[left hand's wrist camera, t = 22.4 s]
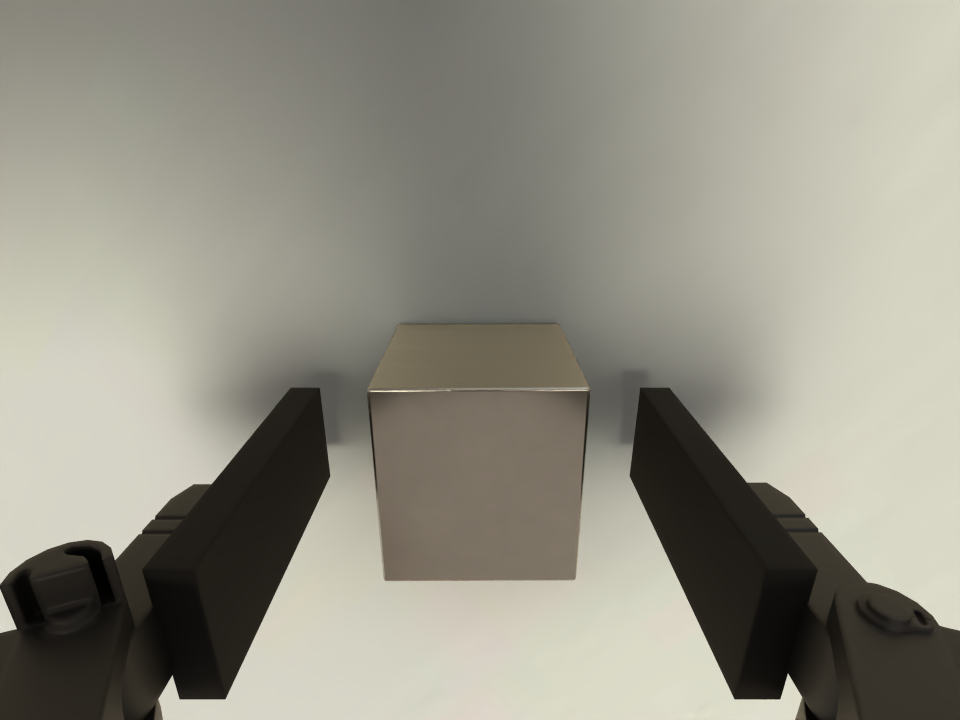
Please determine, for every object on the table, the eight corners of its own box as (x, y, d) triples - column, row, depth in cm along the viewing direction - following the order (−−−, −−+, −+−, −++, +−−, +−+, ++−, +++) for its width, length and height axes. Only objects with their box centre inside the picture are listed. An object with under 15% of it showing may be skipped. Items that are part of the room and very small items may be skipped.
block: (407, 475, 16) (383, 582, 12) (397, 323, 15) (365, 388, 11) (552, 475, 16) (576, 581, 12) (560, 323, 15) (591, 387, 10)
